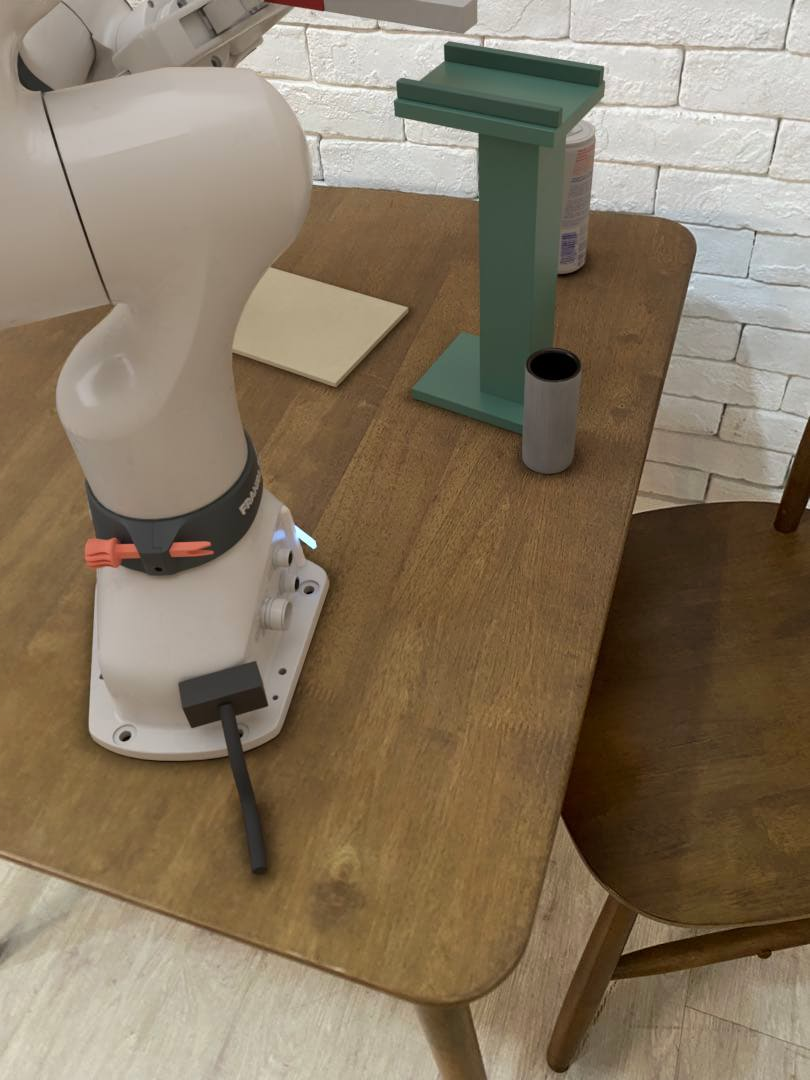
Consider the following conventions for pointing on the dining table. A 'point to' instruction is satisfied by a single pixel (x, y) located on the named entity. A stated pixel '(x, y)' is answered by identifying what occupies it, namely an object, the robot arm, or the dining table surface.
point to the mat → (312, 326)
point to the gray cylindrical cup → (550, 409)
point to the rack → (505, 211)
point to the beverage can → (576, 196)
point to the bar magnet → (401, 11)
